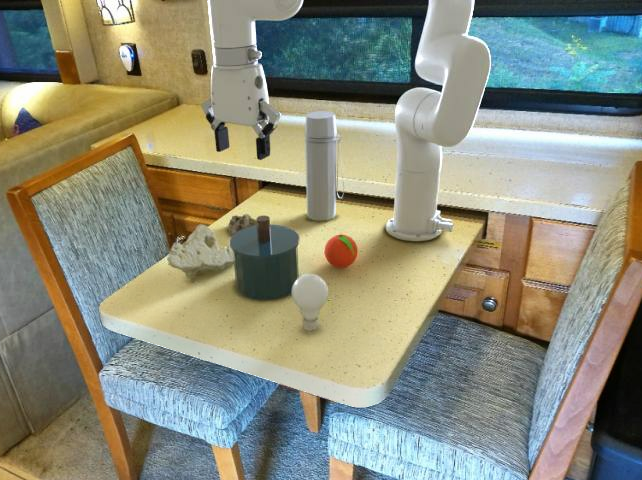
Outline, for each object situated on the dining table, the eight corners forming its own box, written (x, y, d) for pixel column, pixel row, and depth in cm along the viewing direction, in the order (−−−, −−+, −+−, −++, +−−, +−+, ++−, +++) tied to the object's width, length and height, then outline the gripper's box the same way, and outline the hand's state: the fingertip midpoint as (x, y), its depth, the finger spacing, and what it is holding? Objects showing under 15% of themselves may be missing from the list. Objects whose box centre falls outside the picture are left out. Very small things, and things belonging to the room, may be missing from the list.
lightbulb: (286, 326, 109) (283, 273, 103) (315, 315, 111) (314, 263, 105) (305, 343, 104) (303, 289, 98) (335, 331, 106) (335, 278, 100)
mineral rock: (217, 224, 142) (237, 204, 146) (222, 237, 145) (241, 218, 149) (253, 235, 136) (273, 214, 140) (257, 249, 140) (276, 228, 143)
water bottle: (305, 223, 145) (302, 119, 132) (308, 209, 152) (305, 110, 138) (343, 223, 144) (344, 119, 130) (344, 210, 150) (345, 109, 137)
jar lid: (312, 237, 119) (311, 210, 116) (276, 267, 109) (274, 239, 106) (254, 224, 125) (252, 199, 122) (216, 252, 115) (213, 225, 112)
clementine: (367, 270, 124) (368, 239, 120) (339, 279, 122) (339, 248, 118) (344, 255, 130) (345, 225, 126) (318, 263, 128) (317, 233, 124)
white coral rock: (224, 258, 136) (166, 227, 130) (242, 241, 132) (183, 207, 125) (214, 310, 127) (152, 279, 120) (234, 294, 122) (169, 260, 115)
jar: (309, 276, 123) (308, 235, 118) (277, 306, 114) (275, 263, 109) (258, 263, 129) (255, 223, 124) (224, 291, 120) (219, 249, 115)
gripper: (289, 55, 100) (292, 154, 109) (211, 49, 109) (220, 141, 118) (262, 64, 95) (268, 167, 104) (183, 56, 104) (195, 152, 113)
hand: (243, 153), depth 111 cm, fingers open, 9 cm apart
